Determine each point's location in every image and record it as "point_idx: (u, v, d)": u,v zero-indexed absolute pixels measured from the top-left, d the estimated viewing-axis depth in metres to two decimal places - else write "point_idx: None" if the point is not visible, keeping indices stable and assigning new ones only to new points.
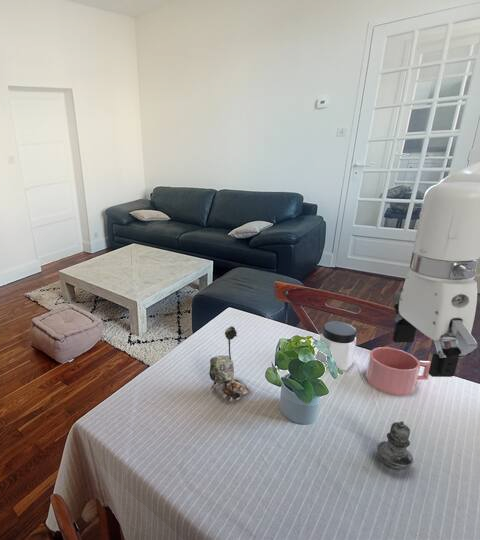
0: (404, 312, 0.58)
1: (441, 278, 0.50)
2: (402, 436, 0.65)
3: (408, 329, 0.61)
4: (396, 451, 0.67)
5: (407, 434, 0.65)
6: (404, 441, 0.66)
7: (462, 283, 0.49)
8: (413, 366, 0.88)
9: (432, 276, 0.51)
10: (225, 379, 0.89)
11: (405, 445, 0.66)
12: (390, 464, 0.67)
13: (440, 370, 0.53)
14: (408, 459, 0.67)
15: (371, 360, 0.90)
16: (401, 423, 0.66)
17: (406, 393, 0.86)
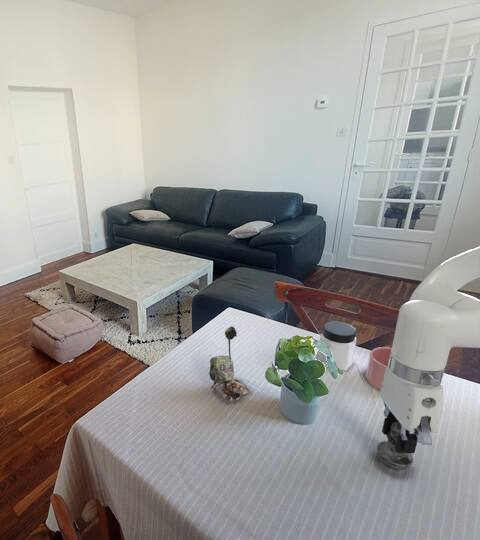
0: (384, 398, 0.67)
1: (413, 382, 0.59)
2: None
3: None
4: None
5: None
6: None
7: (430, 388, 0.58)
8: None
9: (406, 379, 0.60)
10: (225, 379, 0.89)
11: None
12: (390, 464, 0.67)
13: (403, 449, 0.64)
14: (408, 459, 0.67)
15: (371, 360, 0.90)
16: None
17: None
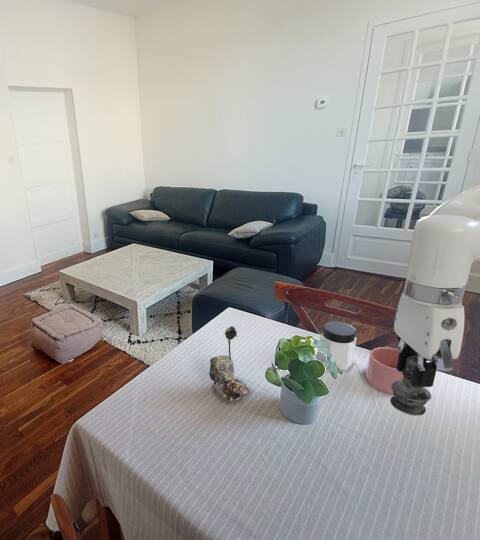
0: (399, 331, 0.63)
1: (431, 303, 0.55)
2: None
3: None
4: (413, 387, 0.62)
5: None
6: None
7: (450, 308, 0.54)
8: None
9: (423, 301, 0.55)
10: (225, 379, 0.89)
11: None
12: (406, 401, 0.63)
13: (420, 381, 0.60)
14: (425, 395, 0.62)
15: (371, 360, 0.90)
16: (417, 355, 0.61)
17: None
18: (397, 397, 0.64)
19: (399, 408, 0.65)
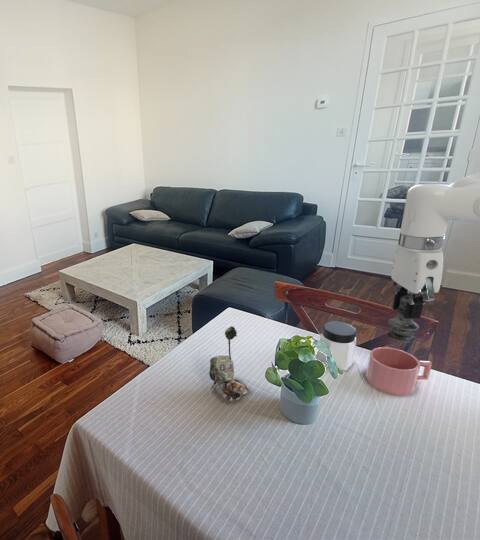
0: (395, 277, 0.81)
1: (419, 249, 0.73)
2: None
3: None
4: (405, 319, 0.81)
5: None
6: None
7: (433, 252, 0.72)
8: (413, 366, 0.88)
9: (413, 248, 0.74)
10: (225, 379, 0.89)
11: None
12: (400, 331, 0.81)
13: (411, 313, 0.79)
14: (414, 326, 0.81)
15: (371, 360, 0.90)
16: (408, 294, 0.80)
17: (406, 393, 0.86)
18: (393, 329, 0.83)
19: (394, 338, 0.83)
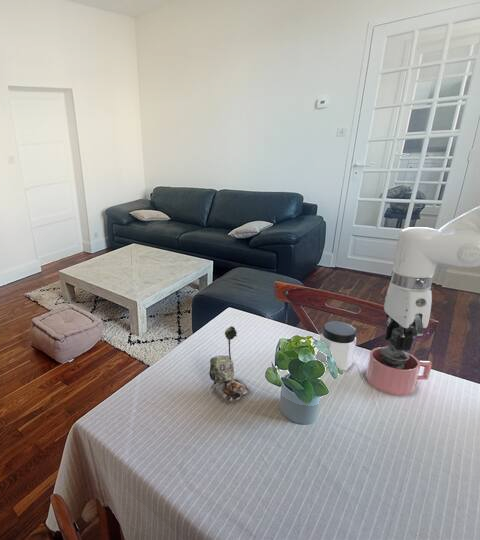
0: (387, 310, 0.87)
1: (409, 288, 0.78)
2: None
3: None
4: (396, 350, 0.86)
5: None
6: None
7: (422, 291, 0.77)
8: (413, 366, 0.88)
9: (404, 287, 0.79)
10: (225, 379, 0.89)
11: None
12: (391, 361, 0.87)
13: (401, 345, 0.84)
14: (405, 356, 0.86)
15: (371, 360, 0.90)
16: None
17: (406, 393, 0.86)
18: (385, 358, 0.88)
19: None
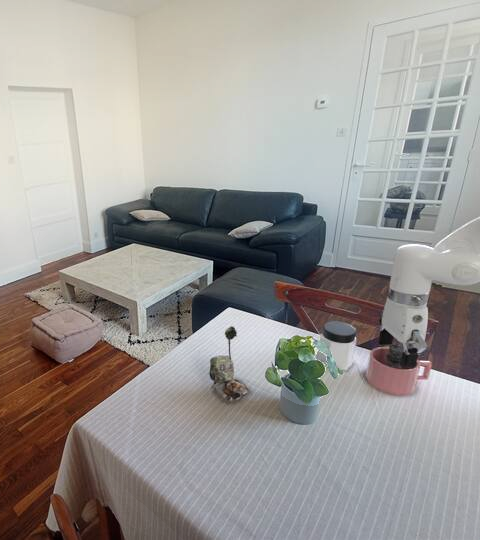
0: (385, 324, 0.88)
1: (406, 304, 0.80)
2: (397, 353, 0.87)
3: (388, 335, 0.91)
4: (393, 366, 0.88)
5: (401, 351, 0.86)
6: (399, 357, 0.87)
7: (418, 308, 0.79)
8: None
9: (400, 303, 0.81)
10: (225, 379, 0.89)
11: (400, 360, 0.87)
12: None
13: (406, 362, 0.83)
14: None
15: (371, 360, 0.90)
16: (397, 343, 0.87)
17: (406, 393, 0.86)
18: None
19: None
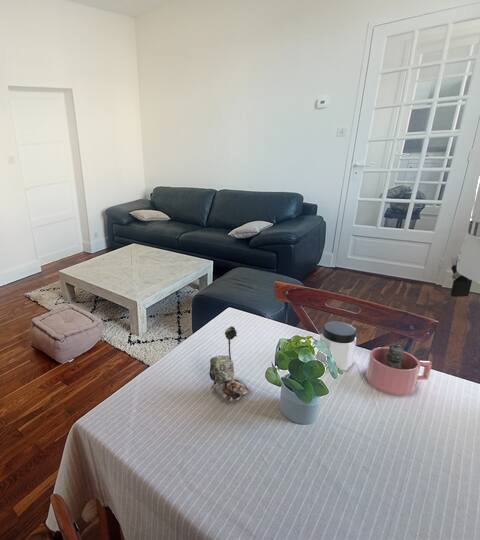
0: (462, 270, 0.73)
1: None
2: (397, 353, 0.87)
3: (464, 285, 0.76)
4: (393, 366, 0.88)
5: (401, 351, 0.86)
6: (399, 357, 0.87)
7: None
8: (413, 366, 0.88)
9: None
10: (225, 379, 0.89)
11: (400, 360, 0.87)
12: None
13: None
14: None
15: (371, 360, 0.90)
16: (397, 343, 0.87)
17: (406, 393, 0.86)
18: None
19: None
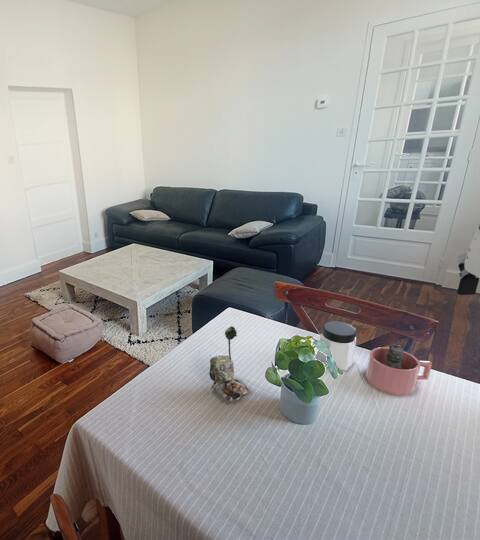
0: (470, 267, 0.72)
1: None
2: (397, 353, 0.87)
3: (471, 283, 0.75)
4: (393, 366, 0.88)
5: (401, 351, 0.86)
6: (399, 357, 0.87)
7: None
8: (413, 366, 0.88)
9: None
10: (225, 379, 0.89)
11: (400, 360, 0.87)
12: None
13: None
14: None
15: (371, 360, 0.90)
16: (397, 343, 0.87)
17: (406, 393, 0.86)
18: None
19: None
